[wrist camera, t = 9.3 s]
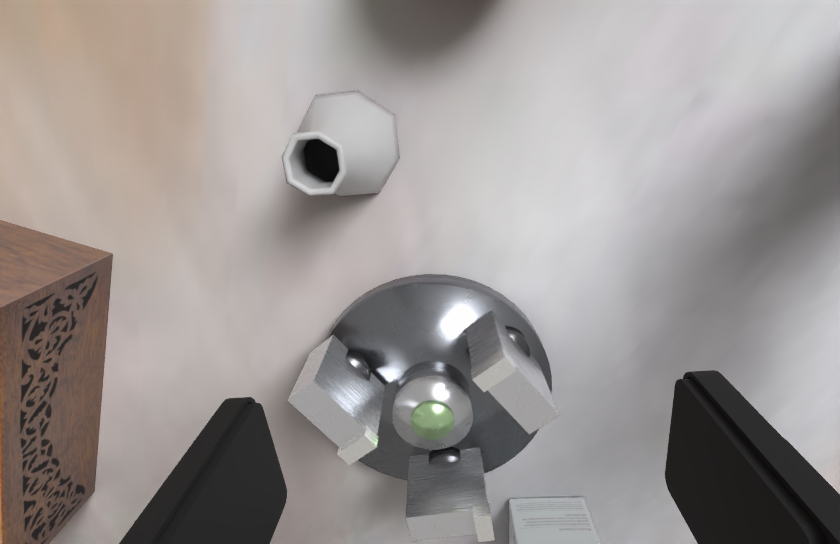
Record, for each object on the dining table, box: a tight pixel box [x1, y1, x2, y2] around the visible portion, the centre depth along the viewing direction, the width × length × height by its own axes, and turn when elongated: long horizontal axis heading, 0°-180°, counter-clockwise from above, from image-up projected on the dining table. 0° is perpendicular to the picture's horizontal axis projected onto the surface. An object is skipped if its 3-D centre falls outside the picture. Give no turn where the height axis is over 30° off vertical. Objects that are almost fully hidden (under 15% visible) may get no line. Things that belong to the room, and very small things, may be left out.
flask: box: [282, 91, 400, 196], centre depth 26 cm, size 7×7×10 cm
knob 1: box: [406, 446, 495, 542], centre depth 35 cm, size 4×6×7 cm, turn 101°
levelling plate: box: [326, 274, 552, 480], centre depth 35 cm, size 19×19×6 cm
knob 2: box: [466, 310, 560, 434], centre depth 31 cm, size 4×6×7 cm, turn 41°
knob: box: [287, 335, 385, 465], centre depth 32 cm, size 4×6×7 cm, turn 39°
